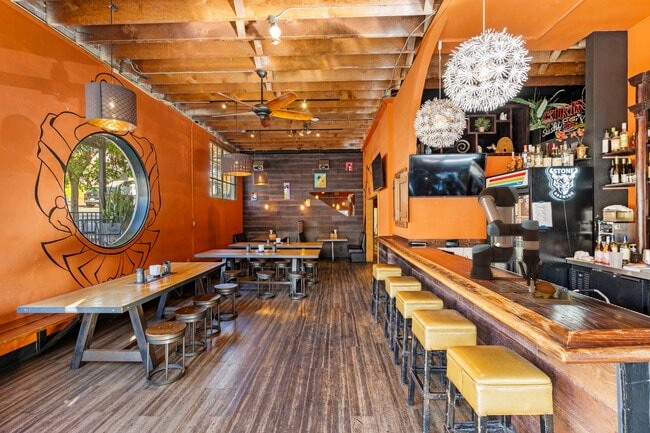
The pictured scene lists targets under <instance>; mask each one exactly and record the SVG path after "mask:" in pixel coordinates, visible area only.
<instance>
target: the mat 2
mask: <svg viewBox="0 0 650 433" xmlns="http://www.w3.org/2000/svg"><path fill="white" fill-rule="evenodd" d="M522 302H523V303H524V304H525V305H526V306H525V307H534V308H535V307H536V308H539V307H540V305H538V303H534V302H524V301H522Z"/></svg>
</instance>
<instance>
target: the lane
mask: <svg viewBox="0 0 650 433" xmlns="http://www.w3.org/2000/svg"><path fill="white" fill-rule="evenodd" d="M551 285H552V286H553V287H554V288H555V289H556V293H555V294H554V295H555V297H556V298H558V299H554V298H553V299H539V298H533V299H532V300H533V303H536V304H547V305H549V304H551V305H565V306H566V305H568V306H573V294H572V293H570V292H567V291H565V290H563V289H561V288H559V287H557V286H556V285H554V284H551ZM522 290H523V289H522V288H504V287H502V288H500V293H510V292H517V294H523V293H524V292H522ZM512 301H518V302H517V303H519V302H520V298H519V297H511V302H512Z"/></svg>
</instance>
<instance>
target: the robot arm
mask: <svg viewBox="0 0 650 433" xmlns="http://www.w3.org/2000/svg"><path fill="white" fill-rule="evenodd" d="M519 197H520V196H519V192H518V189H517V188H516V187H515V186H513V185H504V186H503V185H502V186H500V185H499V186H488V187H486V188H484V189H482V190H481V191H480V193H479V194H478V195H477V203H478V205H479V206H480V207H481V208H482V211H483V213H484V216H485V217H486V220H487V222H488V224H487V226H486V232H487V233H486V234H487V235H488V236H489V237H495V239H496V240H495V241H494V243H493V245H492V246H491V244H489V243H488V244H487V243H485V244H477V245H474V246H472V248H471V265H472V266H471V270H470V272H469V278H471V279H475V280H483V281H485V280H486V281H487V280H494V279H495V278H494V273H493V270H492V267H491V264H505V265H506V264H512V263H514V262H515V259H516V256H517V250H516V247H515V246H514V245H513V243H511V239H512V238H513V237H514V238H515V237H521V238H522V258H521V259H520V260H517V262H516V263H517V264H518V265H519V268H520V272H521V276H522V279H524V280H526V285H527V287H528V290H529V292H530V293H529V294H532V293H534V288H535V286H536V283H537V281H539V280H540V279H541V276H542V273H543V268H544V266H545V265H546V262H545V261H543V260H541V258H540V250H539V249H540V223H539V220H535V219H534V220H532V219H531V220H530V219H528V220H522V222H520V223H512V215H513V209H514V208H515V207H516V204H518V203H519V200H520V198H519ZM511 237H512V238H511ZM538 264H539V265H538ZM524 265H525V267H526V269H525V267H524ZM537 265H538V267H537Z"/></svg>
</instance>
